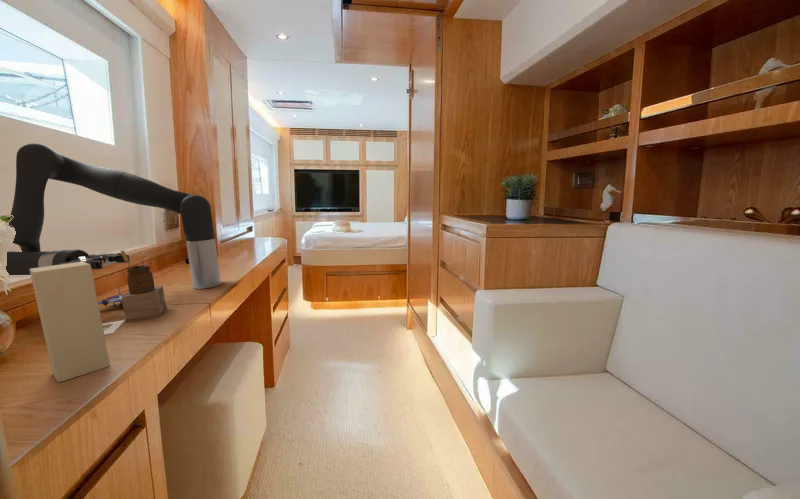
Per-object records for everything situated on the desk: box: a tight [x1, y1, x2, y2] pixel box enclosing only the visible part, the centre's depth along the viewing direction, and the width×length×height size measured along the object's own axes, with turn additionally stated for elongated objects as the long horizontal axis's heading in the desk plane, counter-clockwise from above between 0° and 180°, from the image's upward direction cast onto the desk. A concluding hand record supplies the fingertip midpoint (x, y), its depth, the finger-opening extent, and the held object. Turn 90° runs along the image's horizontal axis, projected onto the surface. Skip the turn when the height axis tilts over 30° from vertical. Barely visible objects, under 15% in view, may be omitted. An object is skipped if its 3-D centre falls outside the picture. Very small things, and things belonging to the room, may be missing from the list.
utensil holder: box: [119, 250, 155, 294], centre depth 100 cm, size 6×6×12 cm
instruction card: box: [102, 319, 126, 336], centre depth 92 cm, size 10×7×1 cm
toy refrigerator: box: [30, 262, 111, 383], centre depth 69 cm, size 8×7×21 cm
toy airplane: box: [98, 287, 126, 310], centre depth 111 cm, size 13×14×4 cm
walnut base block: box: [122, 285, 168, 323], centre depth 102 cm, size 8×8×7 cm
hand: (115, 261), depth 101 cm, fingers open, 8 cm apart
